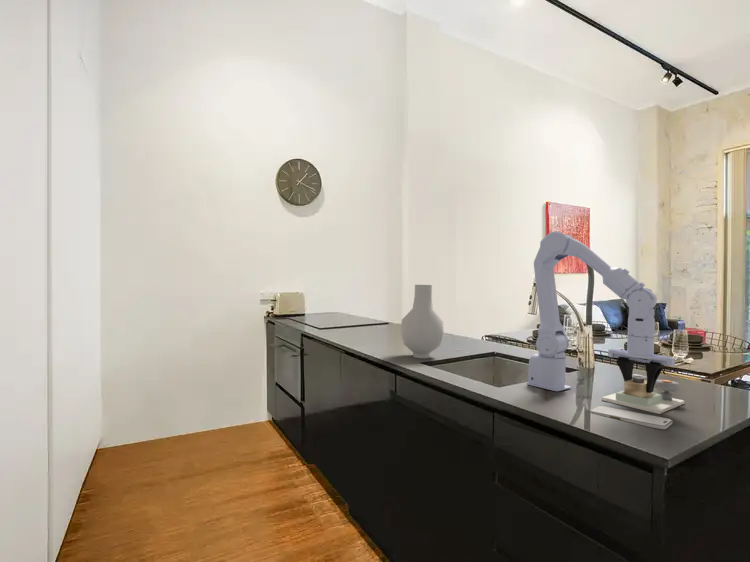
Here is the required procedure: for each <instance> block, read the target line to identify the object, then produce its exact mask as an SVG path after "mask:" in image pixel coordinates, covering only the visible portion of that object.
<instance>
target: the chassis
mask: <svg viewBox="0 0 750 562" xmlns="http://www.w3.org/2000/svg"><path fill="white" fill-rule="evenodd" d="M633 377H638V378H643V379H644V380H646V381H647V375H641V374H636V373H634V374H633V373H632V379H633ZM601 401H603V402H608V403H610V404H611V403H612V404H617V405H620V406H625V407H629V408H633V409H637V410H642V411H646V412H648V413H649V412H650V413H654V414H659V415H660V414H663V413H665V412H667V411H670V410H673V409H675V408H677V407H679V406H682V405H684V404H685V400H683V399H680V398H679V399H678V398H674V397H673V393H672V392H669V393H664V391H661V393H657V392H654V391H653V392H652V396H650V397H647V398H642V397H637V396H632V395H628V394H624V389H623V390H620V391H617V392H615V393H612V394H608V395H604V396H602V397H601Z"/></svg>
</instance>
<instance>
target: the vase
mask: <svg viewBox="0 0 750 562" xmlns="http://www.w3.org/2000/svg"><path fill="white" fill-rule="evenodd" d="M432 293H433V285H432V284H414V298H413V303H412V309H410V311H409V312H408V313H407V314H405V316H404V317H403V318H402V319H401V324H400V335H401V339H402V344H403V345H404V346H405V347H406V348H408V350H409V351H411V352H412V357H413V358H416V359H429V358H430V357H431V355H430V354H431V353H432V352H433V351H435V350H436V349H438V348H439V347H440V346H441V343H442V340H443V337H444V334H445V333H444V332H445V331H444V321H443V319H442V318H441V317H440V316H439V315H438V314H437V312H436V311H435V310H434V309H433V298H432V297H433V294H432Z"/></svg>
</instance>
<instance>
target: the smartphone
mask: <svg viewBox="0 0 750 562" xmlns="http://www.w3.org/2000/svg"><path fill="white" fill-rule="evenodd" d="M589 413H591V414H594V415H598V416H603V417H608V418H611V419H616V420H618V421H619V420H620V421H624V422H627V423H632V424H636V425H641V426H644V427H649V428H653V429H658V430H667V429H668V428H669V427H671V426H672V425H673V421H674V420H672V419H670V418H667V417H661V416H658V415H650V414H647V413H641V412H635V411H632V410H631V411H630V410H625V409H621V408H620V409H619V408H616V407H615V408H614V407H609V406H605V405H598V406H595V407H594V408H591V409H589Z"/></svg>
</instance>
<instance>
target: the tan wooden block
mask: <svg viewBox="0 0 750 562" xmlns="http://www.w3.org/2000/svg"><path fill="white" fill-rule="evenodd" d="M646 387H647V381H646V380H644V379H643V378H638V377H633V379H631V380H628V381H625V382H624V389H623V390H624V394H628V395H632V396H637V397H642V398H647V397H650V396H652V392H651V393H648V392H647V389H646Z"/></svg>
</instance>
